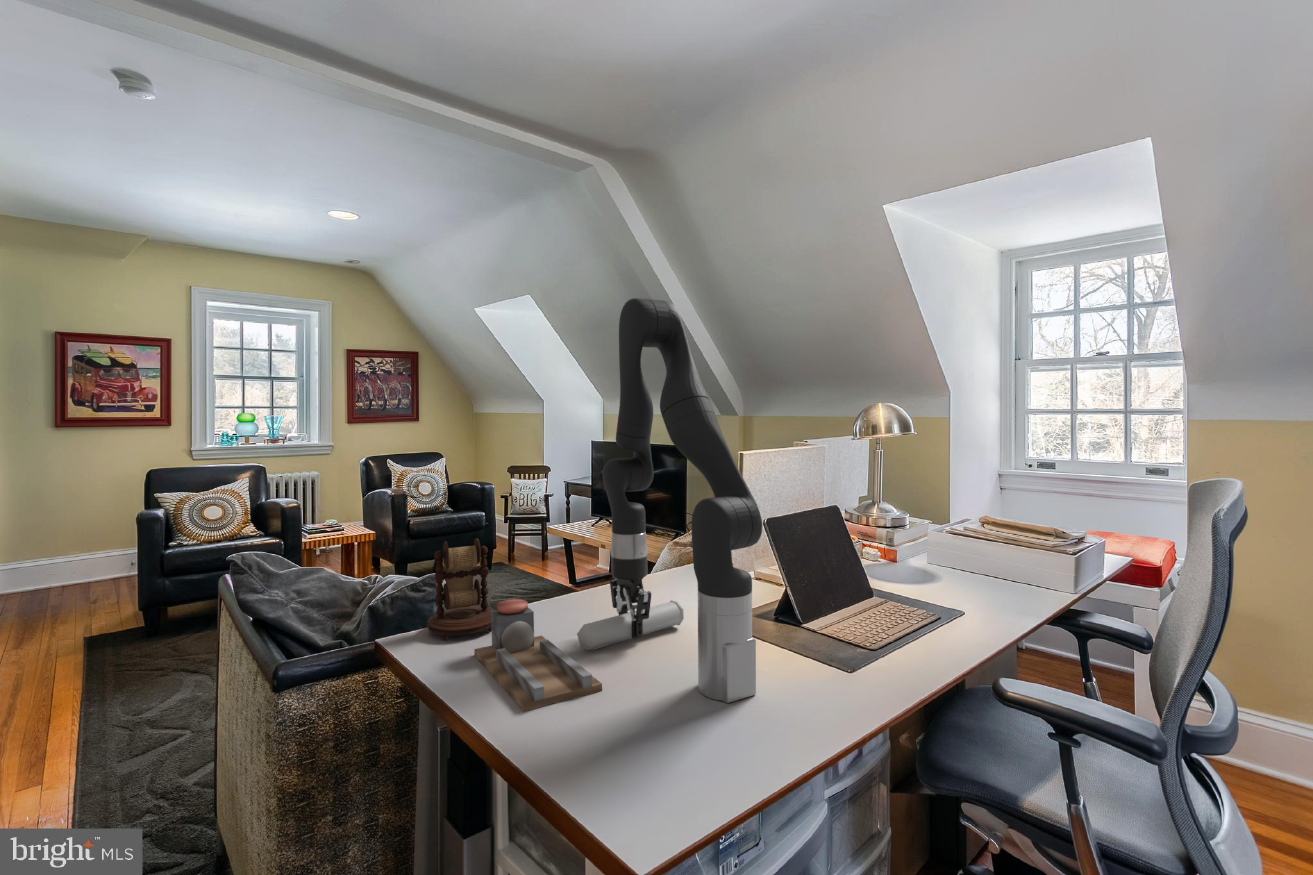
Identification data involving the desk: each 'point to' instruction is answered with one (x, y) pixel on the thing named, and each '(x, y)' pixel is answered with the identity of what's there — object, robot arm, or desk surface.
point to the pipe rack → (531, 660)
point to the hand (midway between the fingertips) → (630, 633)
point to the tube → (629, 625)
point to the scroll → (461, 592)
